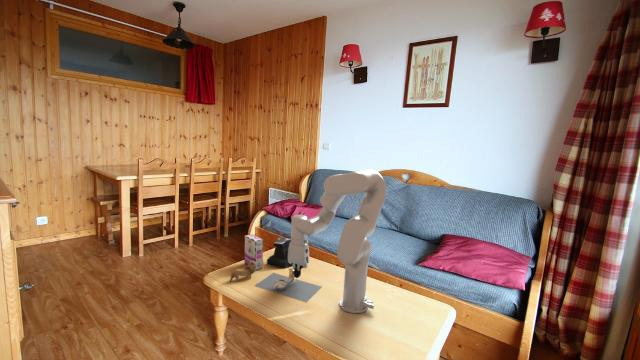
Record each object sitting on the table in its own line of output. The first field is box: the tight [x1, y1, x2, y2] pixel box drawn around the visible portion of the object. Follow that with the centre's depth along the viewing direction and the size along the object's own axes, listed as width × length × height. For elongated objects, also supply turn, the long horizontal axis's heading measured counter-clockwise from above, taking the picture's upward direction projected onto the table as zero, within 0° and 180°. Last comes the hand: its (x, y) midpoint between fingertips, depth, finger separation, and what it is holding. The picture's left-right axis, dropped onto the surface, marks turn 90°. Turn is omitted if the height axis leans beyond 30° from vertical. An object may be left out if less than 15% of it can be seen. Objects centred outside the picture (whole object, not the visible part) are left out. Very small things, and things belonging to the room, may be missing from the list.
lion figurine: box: [228, 261, 256, 283], centre depth 154 cm, size 15×5×9 cm, turn 132°
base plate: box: [254, 272, 323, 303], centre depth 150 cm, size 28×16×1 cm, turn 64°
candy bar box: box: [244, 233, 264, 271], centre depth 171 cm, size 11×5×16 cm, turn 44°
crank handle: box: [273, 268, 295, 291], centre depth 149 cm, size 16×6×5 cm, turn 154°
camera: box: [266, 236, 293, 269], centre depth 178 cm, size 16×14×15 cm
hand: (297, 276), depth 153 cm, fingers closed
